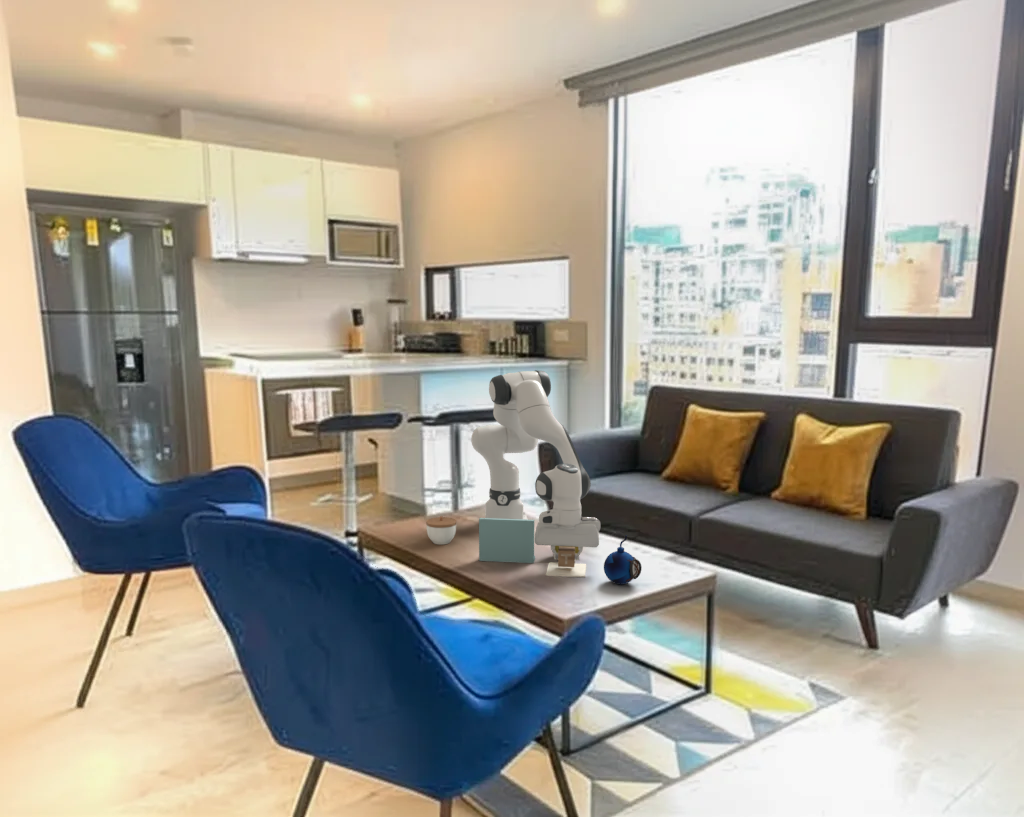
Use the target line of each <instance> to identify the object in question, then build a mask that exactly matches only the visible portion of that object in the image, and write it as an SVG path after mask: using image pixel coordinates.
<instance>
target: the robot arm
mask: <svg viewBox="0 0 1024 817" xmlns="http://www.w3.org/2000/svg"><path fill="white" fill-rule="evenodd" d="M551 390H552V383H551V378H550V376H549V374H548V373H547V372H545V371H544V370H538V369H537V370H536V369H535V370H534V371H532V370H528V371H527V370H524V371H522V370H521V371H517V372H508V373H505V374H499V375H496V376H493V377H492V378H491V379H490V381H489V385H488V393H489V397H490V399H491V401H492V402H493V412H492V414H493V417H494V419H495V420H496V422H497V423H498V424H489V425H482V426H479V427H476V428H475V429H474V430H473V432H472V435H471V441H470V442H471V445H472V448H473V449H474V450H475V452H477V453H478V454H479V455H481V456H482V457H483V459H484V460H485V461H486V463H487V466H488V469H489V478H490V487H489V491H488V495H489V499H488V500H487V501H486V502H485V507H484V508H485V509H484V510H485V511H484V518H498V519H526V520H529V519H528V516H527V513H526V512H525V511H524V503H523V501H522V500H521V488H520V475H519V474H520V471H519V468H518V466H517V465H515V463H512V462H511V461H509V460H506V459H505V458H504V455H506V454H522V453H523V454H524V453H527V452H531V451H533V450H535V449H536V447H537V445H538V442H539V440H540V441H544V442H546V443H549V444H551V445H553V447H555V449H557V451H558V453H559V457H561V460H562V463H559V464H557V465H556V466H554V468H553V469H550V470H546V471H543V472H540V473H539V474H538V476H536V480H535V484H534V485H535V486H534V487H535V493H536V495H537V496H538V497H539V498H540V499H541V500H542V501H545V502H546V501H547V502H552V503H553V506H552V509H549V510H545V511H542V512H540V514H539V516H538V522H537V525H536V528H535V531H534V544H535V545H537V546H550V550H551V552H552V554H553V559H554V560H558V553H557V552H556V551H555V546H574V547H578V550H579V551H578V553H575V561H580V555H581V554H582V553H583V549H584V548H597V547H599V545H600V534H599V532H600V530H601V521H600V520H599V519H598V518H596V517H594V516H591V517H589V516H582V504H581V499H584V498H585V497H586V496H587V494H588V493H589V492H590V489H591V478H590V476H589V474H588V472H587V471H586V469H585V468H584V465H583V464H582V462H581V459H580V456H579V454H578V452H577V450H576V449H575V446H574V444H573V441H572V439H571V436H570V435H569V431H568V430H567V429H566V427H565V426H564V424H562V423H560V422H559V421H558V420H557V418H556V417H555V415H554V413H553V412H552V409H551V405H550V402H549V399H548V397H549V395H550V393H551Z"/></svg>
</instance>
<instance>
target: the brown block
mask: <svg viewBox="0 0 1024 817" xmlns="http://www.w3.org/2000/svg"><path fill="white" fill-rule="evenodd" d="M557 563H558V567H574V565H575V563H576V560H575V547H564V546H559V550H558V559H557Z"/></svg>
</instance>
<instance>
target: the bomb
mask: <svg viewBox="0 0 1024 817" xmlns="http://www.w3.org/2000/svg"><path fill="white" fill-rule="evenodd" d="M627 537H628V535H625V536H624V539H622V540H621V541H620V543H619V547H617V549H616V550H615V551H613V552H611V553H610V554H609V555H607V556H606V558H605V559H604V563H603V571H604V574H605V576H606V577H607V579H608V581H610V582H611V583H614V584H616V585H626V584H628V583H630V582H631V581H633V580H636V579H637V578H638V577H640V575H641V573H642V564H641V562H640V560H639V559H637V558H636V557H634V556H633V555H632V554H630V553H629V552H627V551H625V548H624V547H623V546H622V545H623V543H624V542H626V540H627V539H628V538H627Z"/></svg>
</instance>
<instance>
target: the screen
mask: <svg viewBox="0 0 1024 817" xmlns="http://www.w3.org/2000/svg"><path fill="white" fill-rule="evenodd" d="M478 561H480V562H498V563H499V562H501V563H520V564H521V563H522V564H523V563H525V564H534V563H535V561H536V555H535V519H528V520H526V519H498V518H485V517H479V519H478Z"/></svg>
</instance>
